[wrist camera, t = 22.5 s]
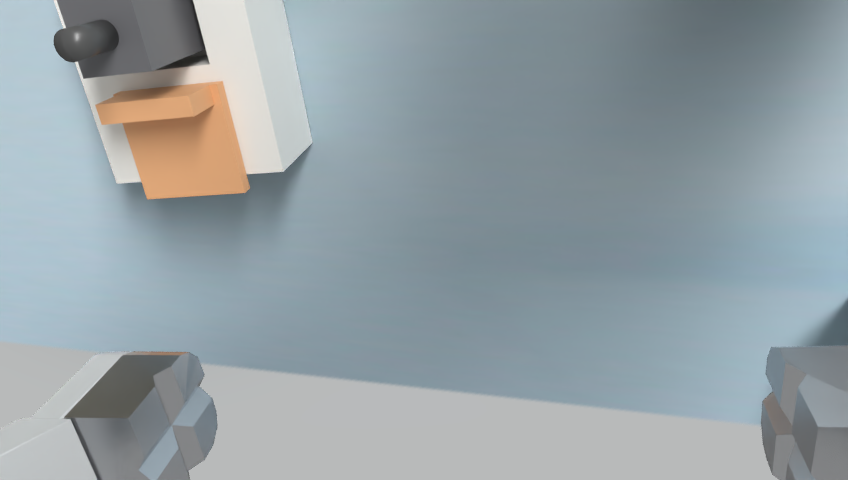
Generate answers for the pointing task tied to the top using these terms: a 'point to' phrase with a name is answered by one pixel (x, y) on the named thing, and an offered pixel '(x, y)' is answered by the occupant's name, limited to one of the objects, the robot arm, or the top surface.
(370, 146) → the top surface
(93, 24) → the plug
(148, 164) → the shutter
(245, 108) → the socket
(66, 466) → the robot arm
